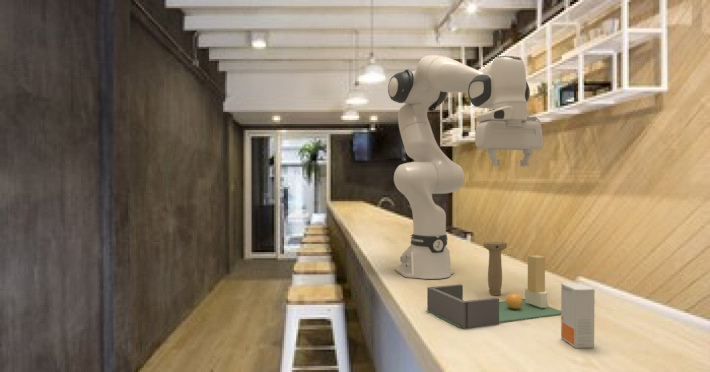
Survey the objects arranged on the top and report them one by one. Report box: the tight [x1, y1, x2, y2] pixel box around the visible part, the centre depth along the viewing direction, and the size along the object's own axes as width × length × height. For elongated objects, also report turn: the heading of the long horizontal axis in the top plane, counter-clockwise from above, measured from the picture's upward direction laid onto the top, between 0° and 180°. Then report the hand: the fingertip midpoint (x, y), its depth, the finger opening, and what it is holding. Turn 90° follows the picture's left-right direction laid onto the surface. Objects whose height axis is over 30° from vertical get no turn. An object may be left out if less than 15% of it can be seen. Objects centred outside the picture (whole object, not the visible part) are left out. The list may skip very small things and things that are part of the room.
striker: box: [524, 254, 548, 308], centre depth 132 cm, size 6×3×13 cm, turn 21°
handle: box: [483, 241, 508, 297], centre depth 146 cm, size 5×6×15 cm
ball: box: [505, 292, 523, 309], centre depth 129 cm, size 4×4×4 cm
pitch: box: [426, 298, 561, 329], centre depth 128 cm, size 15×31×1 cm, turn 111°
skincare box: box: [560, 282, 596, 349], centre depth 105 cm, size 6×4×12 cm
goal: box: [426, 283, 500, 330], centre depth 124 cm, size 16×10×6 cm, turn 21°
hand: (510, 166), depth 137 cm, fingers open, 8 cm apart
